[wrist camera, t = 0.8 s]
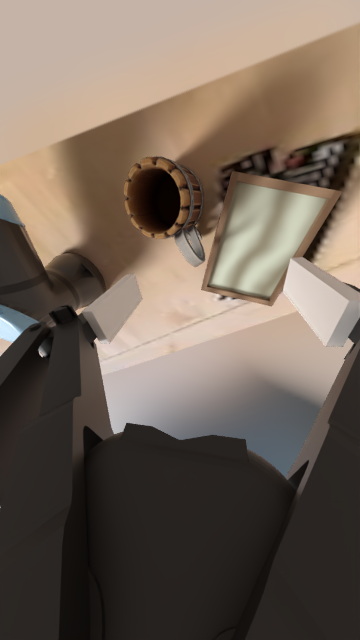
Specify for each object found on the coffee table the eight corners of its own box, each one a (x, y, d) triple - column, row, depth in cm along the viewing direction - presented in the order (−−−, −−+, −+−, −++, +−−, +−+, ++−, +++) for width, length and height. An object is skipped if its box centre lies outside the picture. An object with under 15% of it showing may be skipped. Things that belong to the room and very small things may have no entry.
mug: (142, 196, 32) (97, 193, 20) (183, 148, 27) (155, 106, 15) (186, 261, 38) (172, 288, 26) (227, 232, 33) (232, 249, 21)
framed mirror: (203, 281, 40) (201, 289, 36) (230, 175, 28) (232, 171, 24) (266, 295, 39) (271, 306, 35) (323, 193, 27) (342, 191, 23)
